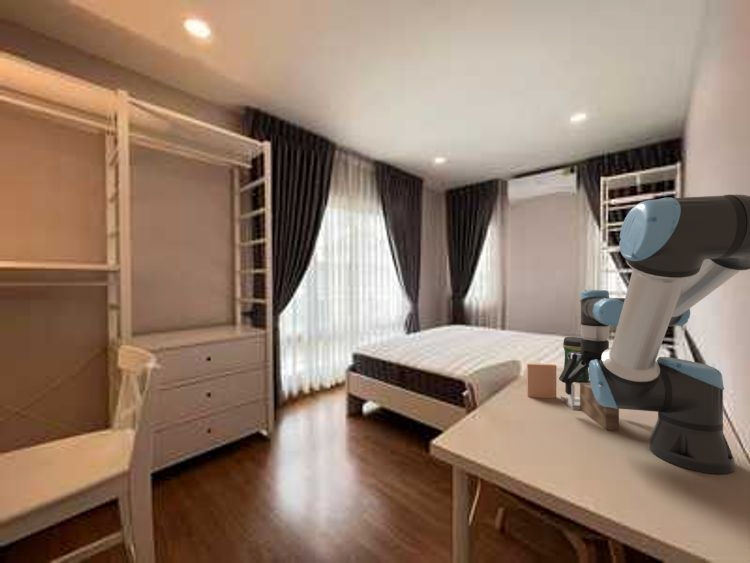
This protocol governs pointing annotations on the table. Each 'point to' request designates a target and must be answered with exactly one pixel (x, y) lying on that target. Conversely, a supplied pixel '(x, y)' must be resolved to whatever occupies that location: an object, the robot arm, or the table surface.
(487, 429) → the table surface
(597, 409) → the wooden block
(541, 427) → the table surface
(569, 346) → the coffee jar
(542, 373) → the tile
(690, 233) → the robot arm
